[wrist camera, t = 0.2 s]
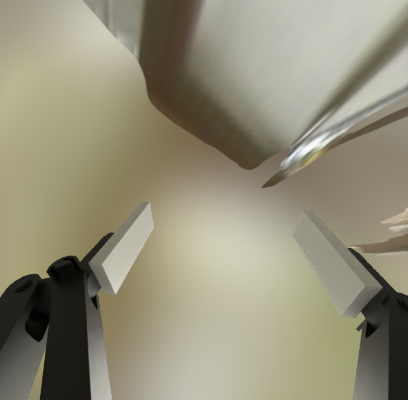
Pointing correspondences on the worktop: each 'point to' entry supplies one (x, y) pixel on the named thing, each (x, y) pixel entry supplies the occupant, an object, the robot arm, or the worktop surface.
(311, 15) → the worktop surface
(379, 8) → the worktop surface
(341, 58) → the worktop surface
